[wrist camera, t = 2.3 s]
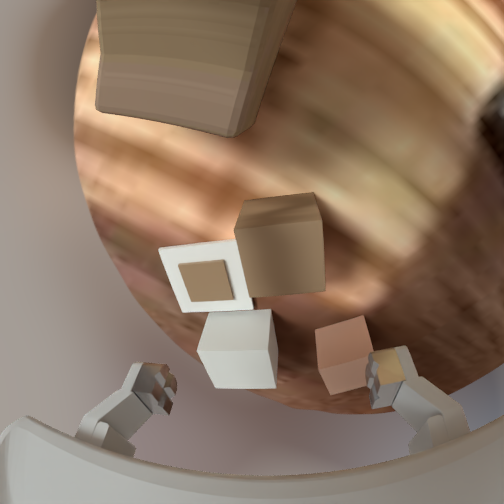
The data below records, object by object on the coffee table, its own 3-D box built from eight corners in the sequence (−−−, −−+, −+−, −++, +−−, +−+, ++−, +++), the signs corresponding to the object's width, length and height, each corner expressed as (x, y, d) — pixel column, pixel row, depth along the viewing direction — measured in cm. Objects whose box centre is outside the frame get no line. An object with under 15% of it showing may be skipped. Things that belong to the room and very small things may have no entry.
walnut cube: (312, 192, 19) (322, 219, 15) (317, 252, 22) (325, 291, 17) (244, 200, 20) (233, 229, 16) (256, 258, 22) (249, 297, 18)
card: (239, 238, 21) (237, 242, 21) (253, 306, 25) (253, 311, 24) (159, 247, 23) (156, 251, 22) (183, 309, 26) (181, 314, 25)
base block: (271, 308, 25) (267, 349, 21) (278, 349, 28) (276, 388, 24) (209, 311, 26) (196, 350, 22) (224, 351, 29) (215, 387, 25)
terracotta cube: (363, 314, 24) (374, 353, 20) (370, 344, 26) (379, 381, 22) (314, 329, 26) (318, 369, 22) (327, 357, 28) (330, 394, 24)
